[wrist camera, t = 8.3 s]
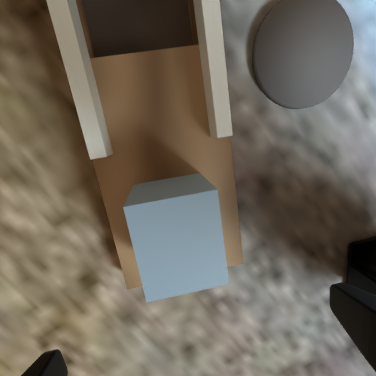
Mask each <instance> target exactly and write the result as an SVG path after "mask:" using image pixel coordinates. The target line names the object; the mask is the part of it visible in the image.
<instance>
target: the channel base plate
mask: <svg viewBox="0 0 376 376" xmlns="http://www.w3.org/2000/svg"><path fill="white" fill-rule="evenodd" d="M76 4H77V8H78V12H79V16H80V20H81V24H82V29H83V33H84V37H85V41H86V45H87V49H88V53H89V57H90V61H91V65H92V69H93V73H94V77H95V81H96V85H97V90H98V94H99V98H100V102H101V106H102V110H103V114H104V118H105V122H106V126H107V130H108V134H109V138H110V142H111V147H112V151H113V154H112V155H109V156H107V157H102V158H96V159H92V161H93V165H94V169H95V172H96V176H97V180H98V183H99V187H100V191H101V194H102V198H103V202H104V205H105V209H106V213H107V216H108V220H109V224H110V227H111V231H112V235H113V238H114V242H115V246H116V249H117V253H118V257H119V260H120V264H121V267H122V271H123V275H124V278H125V282H126V286H127V289H131V288H135V287H140V286H142V282H141V278H140V274H139V269H138V265H137V261H136V257H135V253H134V249H133V245H132V241H131V237H130V233H129V229H128V225H127V221H126V217H125V213H124V209H123V206H124V204H125V202H126V200H127V198H128V195H129V193H130V191H131V189H132V187H133V185H135V184H140V183H146V182H151V181H157V180H163V179H168V178H174V177H179V176H185V175H191V174H196V173H201V174H202V175H203V176H204V177H205V178H206V179H207V180H208V181H209V182H210V183H211V184H212V185H213V186H215V187H216V188H217V189H218V197H219V205H220V213H221V221H222V229H223V238H224V246H225V254H226V262H227V267H229V266H234V265H238V264H243V255H242V245H241V235H240V225H239V215H238V205H237V195H236V186H235V176H234V166H233V156H232V146H231V136H227V137H221V138H211V137H210V130H209V122H208V114H207V106H206V98H205V90H204V82H203V74H202V66H201V58H200V50H199V42H198V34H197V26H196V18H195V10H194V2H193V0H76Z"/></svg>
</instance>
